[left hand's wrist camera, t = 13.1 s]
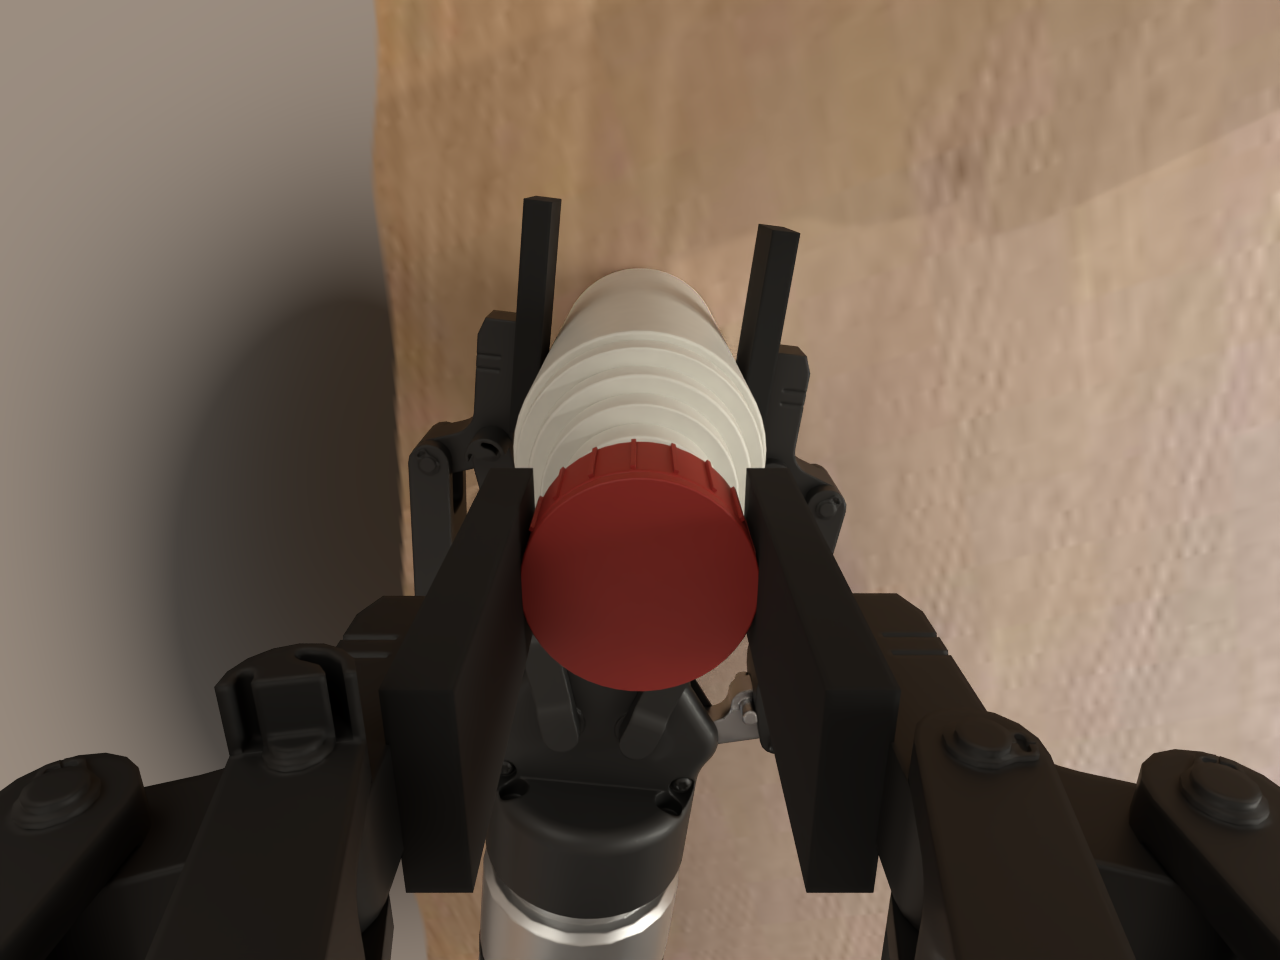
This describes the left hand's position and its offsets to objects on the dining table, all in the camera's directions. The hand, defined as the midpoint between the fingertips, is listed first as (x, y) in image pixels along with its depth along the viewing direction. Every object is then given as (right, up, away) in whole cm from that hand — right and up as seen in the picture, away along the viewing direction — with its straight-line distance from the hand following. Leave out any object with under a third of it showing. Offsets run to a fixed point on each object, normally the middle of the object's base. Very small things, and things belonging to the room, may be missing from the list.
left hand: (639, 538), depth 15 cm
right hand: (+1, +8, +8) cm, 12 cm away
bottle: (0, +6, +16) cm, 17 cm away
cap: (0, -1, -2) cm, 2 cm away
